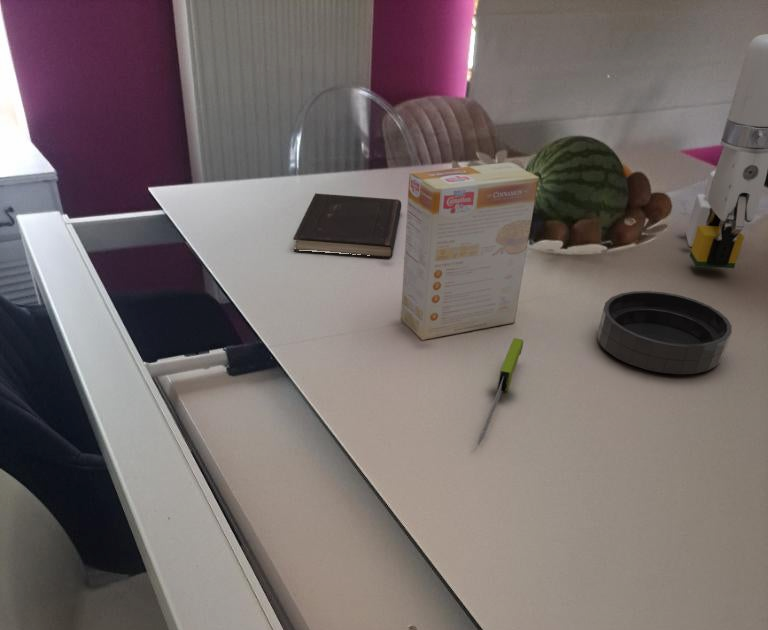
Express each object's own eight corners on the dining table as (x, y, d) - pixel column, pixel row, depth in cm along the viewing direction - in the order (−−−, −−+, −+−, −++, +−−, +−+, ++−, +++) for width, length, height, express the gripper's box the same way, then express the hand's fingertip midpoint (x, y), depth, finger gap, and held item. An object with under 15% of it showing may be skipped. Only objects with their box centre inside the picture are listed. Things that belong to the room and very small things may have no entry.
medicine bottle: (725, 238, 134) (749, 168, 126) (730, 252, 128) (756, 179, 121) (684, 233, 135) (706, 163, 127) (688, 247, 129) (710, 175, 122)
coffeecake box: (489, 303, 108) (510, 160, 95) (516, 324, 103) (542, 176, 90) (398, 319, 103) (407, 170, 90) (421, 341, 98) (435, 187, 85)
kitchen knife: (480, 464, 79) (483, 443, 77) (469, 462, 79) (472, 440, 77) (520, 357, 94) (524, 336, 92) (511, 355, 95) (514, 334, 92)
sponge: (726, 257, 121) (736, 227, 118) (733, 268, 118) (744, 237, 115) (689, 255, 122) (698, 225, 119) (695, 266, 118) (704, 235, 115)
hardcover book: (293, 252, 119) (293, 237, 118) (315, 206, 137) (315, 193, 136) (392, 259, 119) (392, 245, 117) (401, 212, 137) (401, 199, 135)
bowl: (703, 326, 105) (714, 296, 102) (734, 383, 93) (747, 351, 90) (589, 316, 106) (596, 286, 103) (604, 372, 94) (613, 340, 91)
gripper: (796, 151, 101) (751, 280, 113) (759, 122, 114) (722, 240, 126) (740, 149, 102) (701, 278, 113) (709, 120, 114) (677, 238, 126)
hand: (712, 257), depth 119 cm, fingers closed on sponge, 4 cm apart
